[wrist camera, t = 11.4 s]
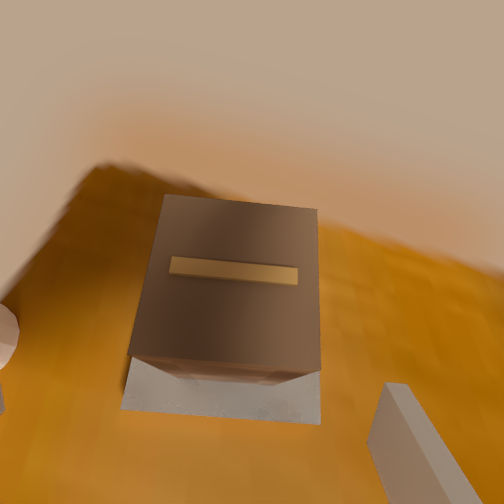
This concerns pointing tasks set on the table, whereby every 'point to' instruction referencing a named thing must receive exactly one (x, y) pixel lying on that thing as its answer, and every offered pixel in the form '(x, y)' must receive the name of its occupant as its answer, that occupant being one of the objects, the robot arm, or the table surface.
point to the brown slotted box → (231, 292)
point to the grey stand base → (222, 396)
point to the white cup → (7, 334)
